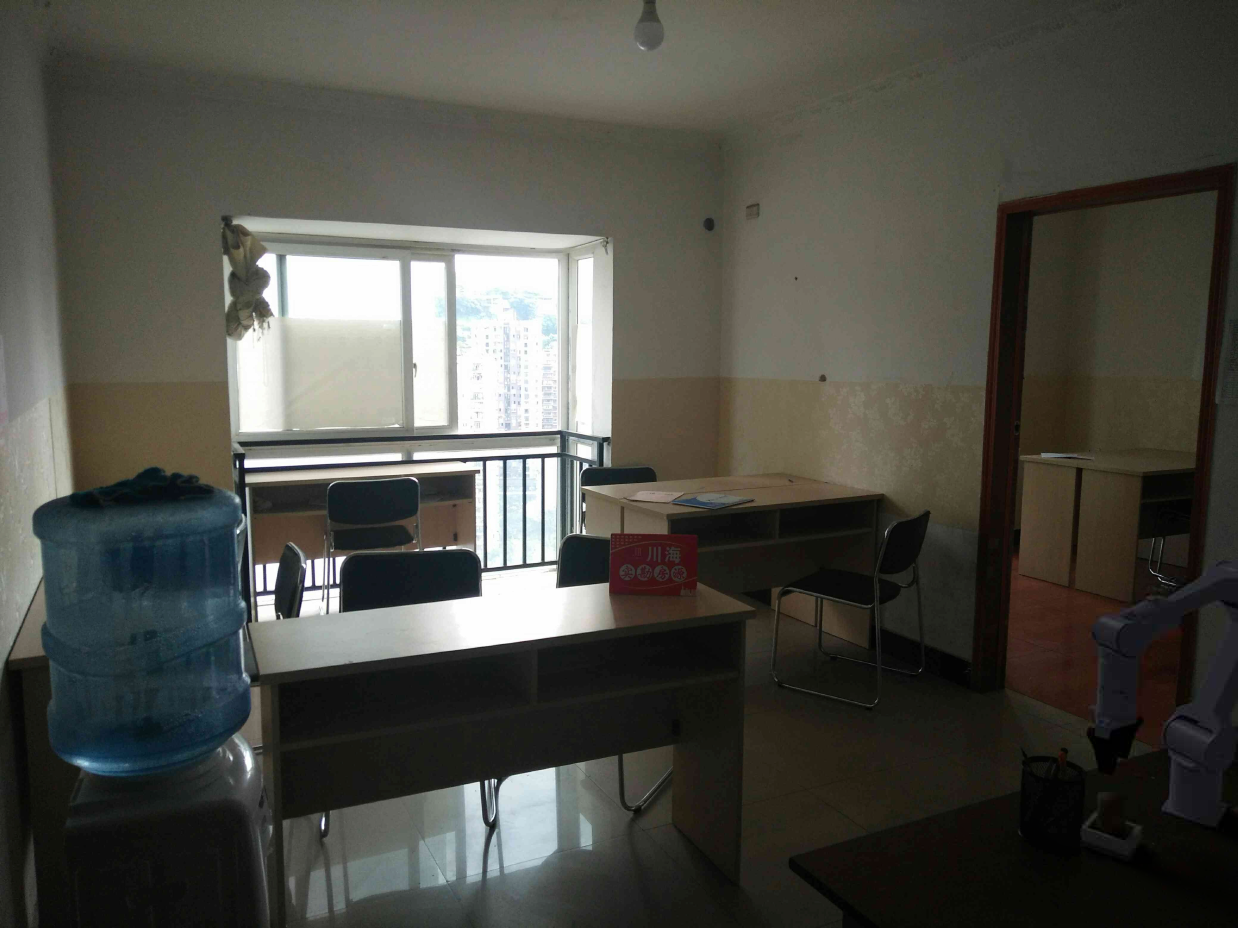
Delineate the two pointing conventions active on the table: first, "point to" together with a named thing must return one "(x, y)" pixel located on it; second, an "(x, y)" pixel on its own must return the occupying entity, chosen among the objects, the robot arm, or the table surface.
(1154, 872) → the table surface
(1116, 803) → the walnut peg
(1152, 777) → the table surface
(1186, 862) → the table surface
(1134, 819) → the table surface
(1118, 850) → the socket block
